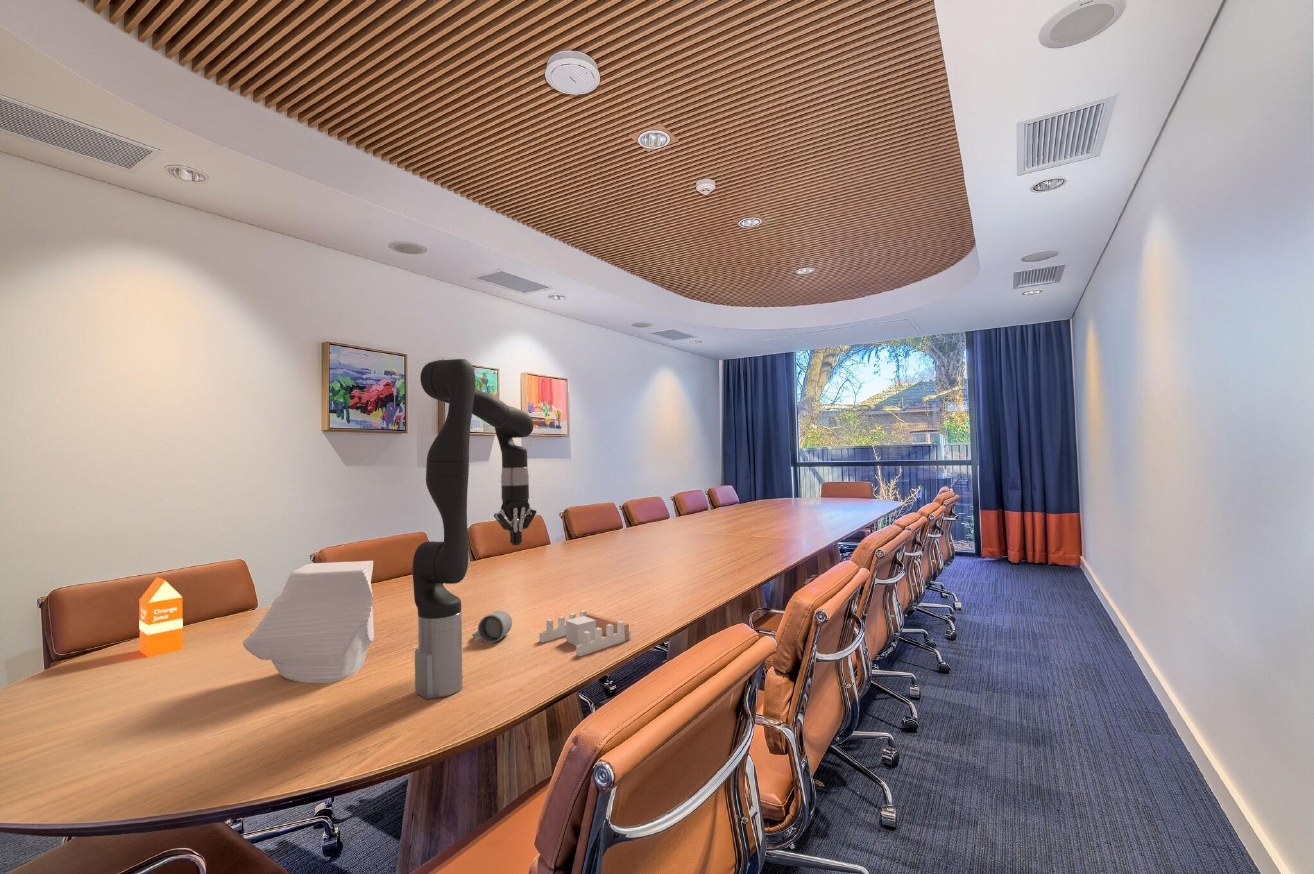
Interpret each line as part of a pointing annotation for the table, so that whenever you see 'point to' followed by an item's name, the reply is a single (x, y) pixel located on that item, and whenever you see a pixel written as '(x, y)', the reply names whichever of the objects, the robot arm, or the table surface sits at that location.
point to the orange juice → (160, 619)
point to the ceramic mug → (493, 627)
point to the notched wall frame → (605, 626)
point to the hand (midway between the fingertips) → (516, 544)
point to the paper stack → (318, 623)
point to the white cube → (579, 629)
